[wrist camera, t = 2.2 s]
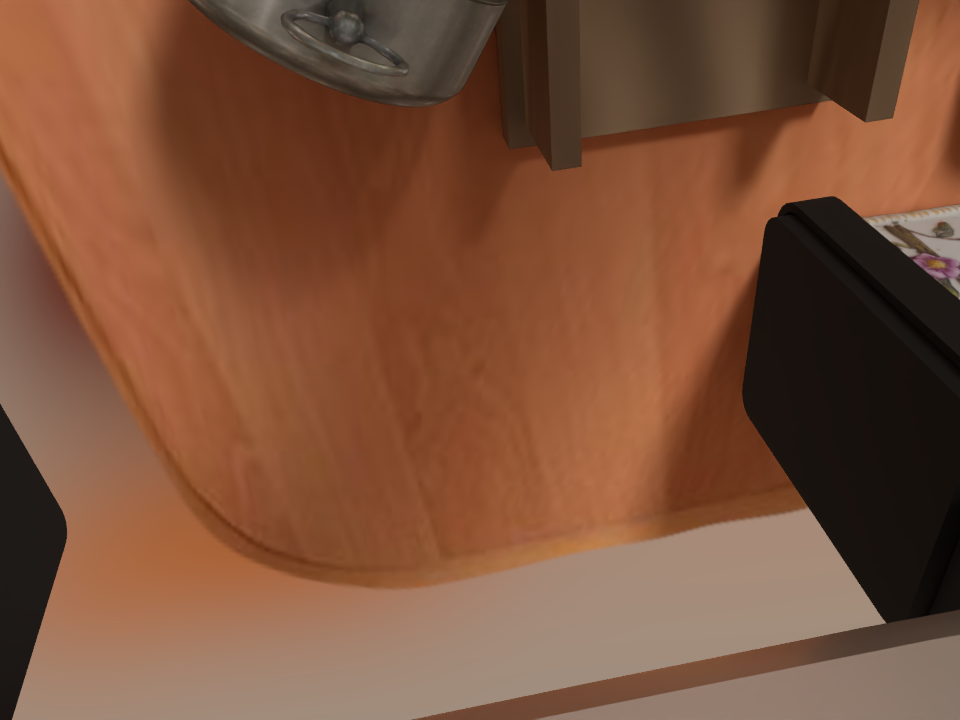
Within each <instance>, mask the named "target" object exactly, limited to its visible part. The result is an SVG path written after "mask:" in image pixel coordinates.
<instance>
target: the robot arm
mask: <svg viewBox="0 0 960 720" xmlns="http://www.w3.org/2000/svg"><path fill="white" fill-rule="evenodd" d="M742 395H743V402H744V407H745V410H746V412H747V415H748V417H749V418H750V420H751V421H752V423H753V424H754V426H755V427H756V429H757V431H758V432H759V434H760V435H761V437H762V438H763V440H764V441H765V443H766V444H767V446H768V447H769V449H770V450H771V452H772V453H773V455H774V456H775V458H776V459H777V461H778V462H779V464H780V465H781V467H782V468H783V470H784V471H785V473H786V474H787V476H788V477H789V479H790V480H791V482H792V483H793V485H794V486H795V488H796V489H797V491H798V492H799V494H800V495H801V497H802V498H803V500H804V501H805V503H806V504H807V506H808V507H809V509H810V510H811V512H812V513H813V515H814V516H815V517H816V519H817V521H818V522H819V523H820V525H821V527H822V528H823V530H824V531H825V533H826V534H827V536H828V537H829V539H830V540H831V542H832V543H833V545H834V546H835V548H836V549H837V551H838V552H839V554H840V555H841V557H842V558H843V560H844V561H845V563H846V564H847V566H848V567H849V569H850V570H851V572H852V573H853V575H854V576H855V578H856V579H857V581H858V582H859V584H860V585H861V587H862V588H863V590H864V591H865V593H866V594H867V596H868V597H869V599H870V600H871V602H872V603H873V605H874V606H875V608H876V609H877V611H878V612H879V614H880V615H881V617H882V618H883V619H884V621H885V622H886V624H881V625H876V626H870V627H864V628H859V629H854V630H850V631H844V632H840V633H834V634H829V635H824V636H820V637H815V638H810V639H805V640H800V641H795V642H790V643H785V644H780V645H775V646H770V647H765V648H760V649H755V650H750V651H745V652H741V653H736V654H730V655H725V656H721V657H716V658H711V659H706V660H701V661H696V662H691V663H686V664H681V665H677V666H671V667H666V668H661V669H656V670H652V671H646V672H641V673H636V674H632V675H626V676H622V677H617V678H612V679H607V680H602V681H597V682H592V683H588V684H582V685H578V686H573V687H568V688H563V689H559V690H553V691H549V692H544V693H539V694H535V695H529V696H524V697H519V698H515V699H510V700H505V701H500V702H495V703H491V704H486V705H481V706H476V707H471V708H466V709H462V710H457V711H452V712H447V713H442V714H437V715H432V716H428V717H423V718H419V719H413V720H960V299H958V298H957V297H956V296H955V295H954V294H952V293H951V292H950V291H949V290H948V289H946V288H945V287H944V286H943V285H942V284H940V283H939V282H938V281H937V280H936V279H935V278H933V277H932V276H931V275H930V274H929V273H927V272H926V271H925V270H924V269H923V268H921V267H920V266H919V265H918V264H917V263H915V262H914V261H913V260H912V259H911V258H909V257H908V256H907V255H906V254H905V253H903V252H902V251H901V250H900V249H899V248H897V247H896V246H895V245H894V244H893V243H891V242H890V241H889V240H888V239H887V238H885V237H884V236H883V235H882V234H881V233H880V232H878V231H877V230H876V229H875V228H874V227H872V226H871V225H870V224H869V223H868V222H866V221H865V220H864V219H863V218H862V217H860V216H859V215H858V214H857V213H856V212H854V211H853V210H852V209H851V208H850V207H848V206H847V205H846V204H845V203H844V202H842V201H841V200H840V199H838V198H836V197H834V196H831V197H823V198H817V199H811V200H805V201H798V202H792V203H786V204H785V205H784V206H783V207H782V208H781V210H780V211H779V213H778V217H774V218H771V219H770V220H768V222H767V224H766V227H765V231H764V238H763V245H762V253H761V260H760V267H759V274H758V281H757V288H756V296H755V303H754V310H753V317H752V324H751V331H750V338H749V346H748V353H747V360H746V367H745V374H744V381H743V390H742ZM66 539H67V526H66V521H65V517H64V514H63V512H62V510H61V508H60V506H59V505H58V503H57V501H56V499H55V498H54V496H53V494H52V493H51V491H50V489H49V487H48V486H47V484H46V482H45V480H44V479H43V477H42V475H41V473H40V472H39V470H38V468H37V467H36V465H35V464H34V462H33V460H32V458H31V456H30V454H29V453H28V451H27V449H26V448H25V446H24V444H23V442H22V441H21V439H20V437H19V435H18V434H17V432H16V430H15V429H14V427H13V425H12V424H11V422H10V420H9V418H8V416H7V415H6V413H5V411H4V410H3V408H2V406H1V404H0V720H12V717H13V714H14V711H15V708H16V704H17V701H18V698H19V695H20V691H21V688H22V685H23V681H24V678H25V675H26V672H27V668H28V665H29V662H30V658H31V655H32V652H33V649H34V645H35V642H36V639H37V635H38V632H39V629H40V626H41V622H42V619H43V616H44V613H45V609H46V606H47V603H48V599H49V596H50V593H51V590H52V587H53V583H54V580H55V577H56V573H57V570H58V567H59V564H60V560H61V557H62V554H63V551H64V547H65V543H66Z"/></svg>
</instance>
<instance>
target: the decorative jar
mask: <svg viewBox="0 0 960 720" xmlns="http://www.w3.org/2000/svg"><path fill="white" fill-rule="evenodd" d="M862 218H863V219H864V220H865V221H866V222H868V223H869V224H870V225H871V226H872V227H874V228H875V229H876V230H877V231H878V232H880V233H881V234H882V235H883V236H884V237H885V238H887V239H888V240H889V241H890V242H891V243H893V244H894V245H895V246H896V247H897V248H899V249H900V250H901V251H902V252H903V253H905V254H906V255H907V256H908V257H909V258H911V259H912V260H913V261H914V262H915V263H917V264H918V265H919V266H920V267H921V268H923V269H924V270H925V271H926V272H927V273H929V274H930V275H931V276H932V277H933V278H935V279H936V280H937V281H938V282H939V283H940V284H942V285H943V286H944V287H945V288H946V289H948V290H949V291H950V292H951V293H952V294H954V295H955V296H956V297H957V298H958V299H960V204H957V205H951V206H944V207H938V208H930V209H925V210H918V211H911V212H905V213H899V214H887V215H878V216H871V217H862Z"/></svg>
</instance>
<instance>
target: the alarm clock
mask: <svg viewBox="0 0 960 720" xmlns="http://www.w3.org/2000/svg"><path fill="white" fill-rule="evenodd" d="M189 1H190V2H191V3H192V4H193V5H194V6H195V7H196V8H197V9H199V10H200V11H201V12H202V13H203V14H204V15H205V16H206V17H208V18H209V19H210V20H211V21H212V22H213V23H214V24H216V25H217V26H218V27H220V28H221V29H222V30H224V31H225V32H226V33H228V34H229V35H231V36H232V37H234V38H235V39H237V40H238V41H240V42H241V43H243V44H245V45H246V46H248V47H249V48H251V49H252V50H254V51H256V52H257V53H259V54H261V55H262V56H264V57H266V58H267V59H269V60H271V61H273V62H275V63H277V64H279V65H281V66H283V67H285V68H287V69H289V70H291V71H293V72H295V73H297V74H299V75H301V76H303V77H306V79H309V80H312V81H314V82H317V83H319V84H321V85H324V86H326V87H329V88H332V89H334V90H337V91H339V92H342V93H345V94H349V95H352V96H355V97H358V98H361V99H365V100H369V101H373V102H377V103H382V104H388V105H394V106H402V107H426V106H433V105H436V104H439V103H442V102H444V101H447V100H449V99H450V98H452V97H453V96H455V95H456V94H458V93H459V92H460V91H461V90H462V88H463V87H464V85H465V83H466V82H467V80H468V78H469V76H470V74H471V72H472V70H473V68H474V66H475V65H476V63H477V61H478V59H479V57H480V55H481V53H482V51H483V49H484V47H485V45H486V43H487V41H488V39H489V37H490V35H491V33H492V31H493V29H494V27H495V25H496V23H497V21H498V19H499V17H500V15H501V14H502V12H503V10H504V8H505V6H506V4H507V2H508V1H509V0H189Z"/></svg>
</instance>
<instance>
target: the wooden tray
mask: <svg viewBox="0 0 960 720" xmlns="http://www.w3.org/2000/svg"><path fill="white" fill-rule="evenodd" d="M918 4H919V0H509V1H508V2H507V4H506V6H505V8H504V10H503V12H502V14H501V15H500V17H499V19H498V21H497V23H496V25H495V27H496V40H497V54H498V68H499V81H500V95H501V109H502V122H503V136H504V139H505V141H506V143H507V145H508V147H509V149H516V148H522V147H529V146H535V145H537V146H538V147H539V149H540V151H541V153H542V154H543V156H544V158H545V159H546V161H547V163H548V165H549V166H550V168H551V170H552V171H556V170H562V169H569V168H575V167H582V166H581V138H588V137H594V136H601V135H608V134H614V133H621V132H627V131H634V130H640V129H647V128H653V127H660V126H667V125H673V124H680V123H686V122H693V121H699V120H706V119H713V118H719V117H726V116H732V115H739V114H745V113H752V112H758V111H765V110H772V109H778V108H785V107H791V106H798V105H804V104H811V103H818V102H824V101H831V100H832V101H834V102H835V103H837V104H838V105H840V106H841V107H843V108H844V109H846V110H847V111H849V112H850V113H852V114H853V115H855V116H856V117H858V118H859V119H861V120H862V121H864V122H872V121H878V120H884V119H891V118H893V115H894V111H895V106H896V102H897V97H898V93H899V89H900V84H901V80H902V75H903V71H904V66H905V62H906V57H907V53H908V49H909V44H910V40H911V35H912V31H913V26H914V22H915V17H916V13H917V9H918Z"/></svg>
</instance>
